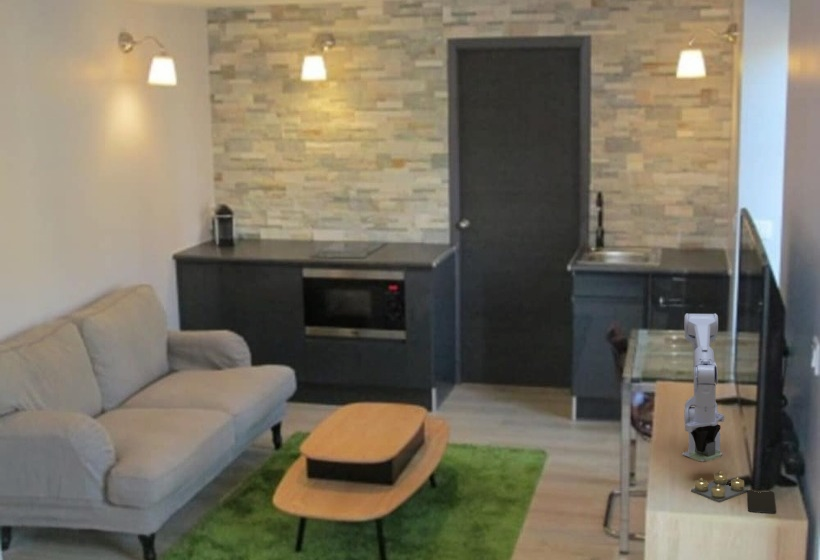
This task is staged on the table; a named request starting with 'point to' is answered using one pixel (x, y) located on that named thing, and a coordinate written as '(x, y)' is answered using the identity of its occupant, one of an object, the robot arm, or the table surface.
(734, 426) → the table surface
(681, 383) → the table surface
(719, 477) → the chassis
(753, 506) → the smartphone
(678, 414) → the table surface
